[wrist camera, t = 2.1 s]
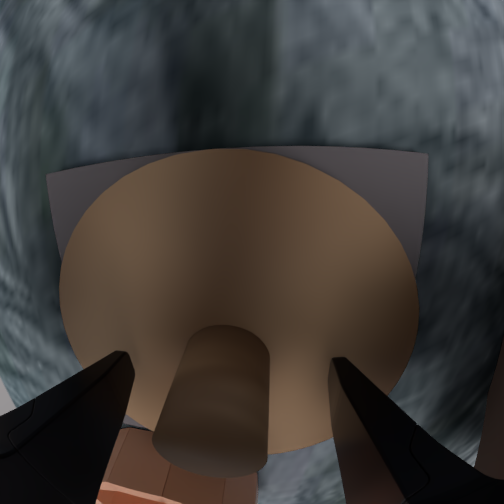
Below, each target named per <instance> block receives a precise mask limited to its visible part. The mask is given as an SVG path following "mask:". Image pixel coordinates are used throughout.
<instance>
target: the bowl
mask: <svg viewBox="0 0 504 504" xmlns="http://www.w3.org/2000/svg"><path fill="white" fill-rule="evenodd" d="M153 433H154V432H152V431H146V430H141V429H136V428H131V427H129V428H124V429H120V431H119V434H118V437H117V440H116V442H115V445H114V448H113V451H112V454H111V457H110V460H109V463H108V466H107V469H106V472H105V475H104V478H103V481H102V484H101V487H100V490H99V493H98V497H97V500H96V504H258V476H257V473H256V472H255V473H253V474H250V475H247V476H242V477H235V478H217V477H209V476H203V475H199V474H195V473H192V472H189V471H186V470H184V469H181V468H179V467H177V466H175V465H173V464H172V463H170V462H168V461H167V460H166V459H164V458H163V457H162V456H161V455H160V454H159V453H158V452H157V451H156V449H155V448H154V446H153V444H152V435H153Z"/></svg>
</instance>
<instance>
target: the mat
mask: <svg viewBox="0 0 504 504" xmlns="http://www.w3.org/2000/svg"><path fill="white" fill-rule="evenodd" d="M221 149H249V150H256V151H262V152H268V153H274V154H278V155H281V156H284V157H288V158H291V159H294V160H297V161H300V162H303V163H305V164H307V165H310V166H312V167H314V168H316V169H318V170H320V171H322V172H324V173H325V174H327V175H329V176H331V177H333V178H335V179H337V180H339V181H340V182H342V183H343V184H344V185H346V186H347V187H349V188H350V189H351V190H353V191H354V192H355V193H357V194H358V195H359V196H361V197H362V198H363V199H365V200H366V201H367V202H368V203H369V204H370V205H371V206H372V207H373V208H374V209H375V210H376V211H377V212H378V213H379V214H380V216H381V217H382V218H383V219H384V220H385V221H386V222H387V224H388V225H389V227H390V228H391V229H392V231H393V232H394V234H395V235H396V237H397V238H398V240H399V241H400V243H401V245H402V247H403V249H404V251H405V253H406V255H407V257H408V260H409V262H410V264H411V267H412V270H413V274H414V278H415V280H416V275H417V269H418V263H419V257H420V250H421V243H422V236H423V227H424V218H425V208H426V196H427V179H428V154H425V153H417V152H408V151H397V150H386V149H373V148H356V147H332V146H262V147H238V148H221ZM207 150H208V149H207ZM195 151H201V150H195ZM188 152H194V151H184V152H175V153H166V154H157V155H150V156H142V157H135V158H128V159H122V160H115V161H109V162H104V163H98V164H93V165H87V166H82V167H77V168H72V169H68V170H63V171H59V172H54V173H50V174H46V180H47V188H48V196H49V202H50V209H51V215H52V220H53V226H54V231H55V236H56V241H57V245H58V250H59V254H60V258H61V262H62V261H63V257H64V253H65V250H66V247H67V245H68V242H69V240H70V237H71V235H72V233H73V231H74V229H75V227H76V226H77V224H78V222H79V221H80V219H81V218H82V216H83V215H84V213H85V212H86V210H87V209H88V208H89V207H90V206H91V205H92V204H93V203H94V201H95V200H96V199H97V198H98V197H99V196H100V195H101V194H102V193H103V192H104V191H106V190H107V189H108V188H109V187H111V186H112V185H113V184H115V183H116V182H117V181H119V180H120V179H121V178H123V177H124V176H126V175H128V174H130V173H132V172H133V171H135V170H137V169H139V168H141V167H143V166H145V165H147V164H149V163H152V162H155V161H158V160H161V159H164V158H167V157H170V156H173V155H177V154H182V153H188ZM123 422H124V424H129V425H134V426H138V427H144V426H143V425H141V424H139V423H138V422H136V421H135V420H133V419H132V418H131V417H129V416H128V415H126V414H125V417H124V420H123ZM144 428H146V427H144Z"/></svg>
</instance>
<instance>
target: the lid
mask: <svg viewBox="0 0 504 504" xmlns="http://www.w3.org/2000/svg"><path fill="white" fill-rule="evenodd" d="M59 296H60V309H61V314H62V319H63V324H64V327H65V330H66V333H67V336H68V339H69V342H70V344H71V347H72V349H73V351H74V353H75V355H76V357H77V359H78V361H79V362H80V364H81V366H82V367H83V369H85V368H87V367H89V366H90V365H92V364H94V363H95V362H97V361H99V360H100V359H102V358H104V357H105V356H107V355H109V354H110V353H112V352H114V351H116V350H120V351H126V352H128V353H129V355H130V358H131V361H132V364H133V366H134V369H135V379H134V383H133V387H132V391H131V395H130V399H129V403H128V407H127V411H126V415H128V416H129V417H131V418H132V419H133V420H135V421H136V422H138V423H139V424H141V425H143V426H144V427H146V428H148V429H150V430H151V431H153V432H154V433H153V435H152V444H153V446H154V448H155V449H156V451H157V452H158V453H159V454H160V455H161V456H162V457H163V458H164V459H166V460H167V461H168V462H170V463H172V464H173V465H175V466H177V467H179V468H181V469H184V470H186V471H189V472H192V473H195V474H199V475H203V476H209V477H217V478H235V477H242V476H247V475H250V474H253V473H255V472H257V471H259V470H260V469H262V468H263V467H264V466H265V464H266V462H267V458H268V454H277V453H283V452H289V451H294V450H298V449H302V448H305V447H309V446H312V445H315V444H317V443H320V442H323V441H325V440H328V439H330V438H332V437H333V433H332V427H331V417H330V405H329V393H328V373H329V367H330V360H331V358H333V357H346V358H347V359H348V360H349V361H351V362H352V363H353V364H354V365H355V366H356V367H357V368H358V369H359V370H360V371H361V372H362V373H363V374H364V375H365V376H366V377H368V378H369V379H370V380H371V381H372V382H373V383H374V384H375V385H376V386H377V387H378V388H379V389H380V390H381V391H382V392H384V393H385V394H386V395H387V396H388V394H389V393H390V392H391V390H392V389H393V388H394V386H395V385H396V384H397V382H398V381H399V379H400V377H401V375H402V374H403V372H404V370H405V368H406V366H407V364H408V361H409V359H410V356H411V354H412V351H413V348H414V344H415V340H416V336H417V331H418V321H419V301H418V291H417V285H416V281H415V278H414V274H413V270H412V267H411V264H410V262H409V260H408V257H407V255H406V253H405V251H404V249H403V247H402V245H401V243H400V241H399V240H398V238H397V237H396V235H395V234H394V232H393V231H392V229H391V228H390V227H389V225H388V224H387V222H386V221H385V220H384V219H383V218H382V217H381V216H380V214H379V213H378V212H377V211H376V210H375V209H374V208H373V207H372V206H371V205H370V204H369V203H368V202H367V201H366V200H365V199H363V198H362V197H361V196H359V195H358V194H357V193H355V192H354V191H353V190H351V189H350V188H349V187H347V186H346V185H344V184H343V183H342V182H340V181H339V180H337V179H335V178H333V177H331V176H329V175H327V174H325V173H324V172H322V171H320V170H318V169H316V168H314V167H312V166H310V165H307V164H305V163H303V162H300V161H297V160H294V159H291V158H288V157H284V156H281V155H278V154H274V153H268V152H262V151H256V150H249V149H208V150H201V151H194V152H188V153H182V154H177V155H173V156H170V157H167V158H164V159H161V160H158V161H155V162H152V163H149V164H147V165H145V166H143V167H141V168H139V169H137V170H135V171H133V172H132V173H130V174H128V175H126V176H124V177H123V178H121V179H120V180H119V181H117V182H116V183H115V184H113V185H112V186H111V187H109V188H108V189H107V190H106V191H104V192H103V193H102V194H101V195H100V196H99V197H98V198H97V199H96V200H95V201H94V203H93V204H92V205H91V206H90V207H89V208H88V209H87V210H86V212H85V213H84V215H83V216H82V218H81V219H80V221H79V222H78V224H77V226H76V227H75V229H74V231H73V233H72V235H71V237H70V240H69V242H68V245H67V247H66V250H65V253H64V257H63V261H62V266H61V272H60V283H59Z"/></svg>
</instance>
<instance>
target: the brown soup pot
mask: <svg viewBox="0 0 504 504" xmlns="http://www.w3.org/2000/svg"><path fill="white" fill-rule="evenodd" d="M474 468H475V469H477V470H478V471H480V472H481V473H483V474H485V475H487V476H489V477H492V478H496V479H503V480H504V337H503V342H502V346H501V350H500V354H499V358H498V362H497V365H496V369H495V372H494V376H493V379H492V382H491V385H490V389H489V392H488V396H487V404H486V411H485V418H484V424H483V430H482V435H481V440H480V445H479V449H478V454H477V458H476V462H475V466H474Z"/></svg>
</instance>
